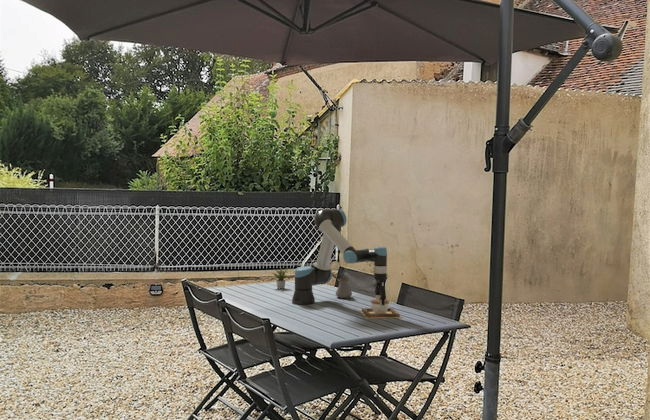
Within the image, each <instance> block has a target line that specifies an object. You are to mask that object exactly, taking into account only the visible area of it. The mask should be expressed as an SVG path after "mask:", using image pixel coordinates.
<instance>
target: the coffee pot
mask: <svg viewBox="0 0 650 420" xmlns="http://www.w3.org/2000/svg"><path fill="white" fill-rule="evenodd" d="M332 277H334V279H335V280H337V281H338V282H339V284H338V287H337V290H336V292H335V296H337V298H338V297H340V298H339V299H342V298H346V299H349V298H350V297H352V295H353V292H352V289H351V287H350V286H349V283H348V282H349V278H338V277H337V276H336V275H335V274H333V273H332Z"/></svg>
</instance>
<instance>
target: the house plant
mask: <svg viewBox="0 0 650 420" xmlns="http://www.w3.org/2000/svg"><path fill="white" fill-rule="evenodd" d="M284 270H285V271H284ZM273 271H274V272H271V274H273V276H274V277H275V278H277V279H276V287H277V289H278V288H284V289H285V287H286V279H285V278H286V277H288V276H289V275H287V274H286V273H287V272H288V271H289V268H285V269H282V267H280V270H278V269H274V268H273ZM275 272H276V273H275Z"/></svg>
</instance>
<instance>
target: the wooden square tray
mask: <svg viewBox="0 0 650 420" xmlns="http://www.w3.org/2000/svg"><path fill="white" fill-rule="evenodd" d="M358 312H359V313H360V314H361V315H362V316H363V318H365V320H368V319H371V320H373V319H402V318H403V316H402V315H401V314H400V313H398V311H397V310H395V308H393V307H389V308H388V311H387V312H386V313H385V314H375V313H374V312H373V310H372V307H368V308H367V307H365V308H361V309H360V310H358Z"/></svg>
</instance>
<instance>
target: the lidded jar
mask: <svg viewBox="0 0 650 420" xmlns="http://www.w3.org/2000/svg"><path fill="white" fill-rule="evenodd" d="M380 298H381V297H380ZM380 298H379V299H376V298H375V299H372V300H371V301H370V303H371V308H372V310H373V312H374V313H375V314H385V313H386V312H387V311H388V308H390V300H388V299H385V310H383V311H381V310H380Z"/></svg>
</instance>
